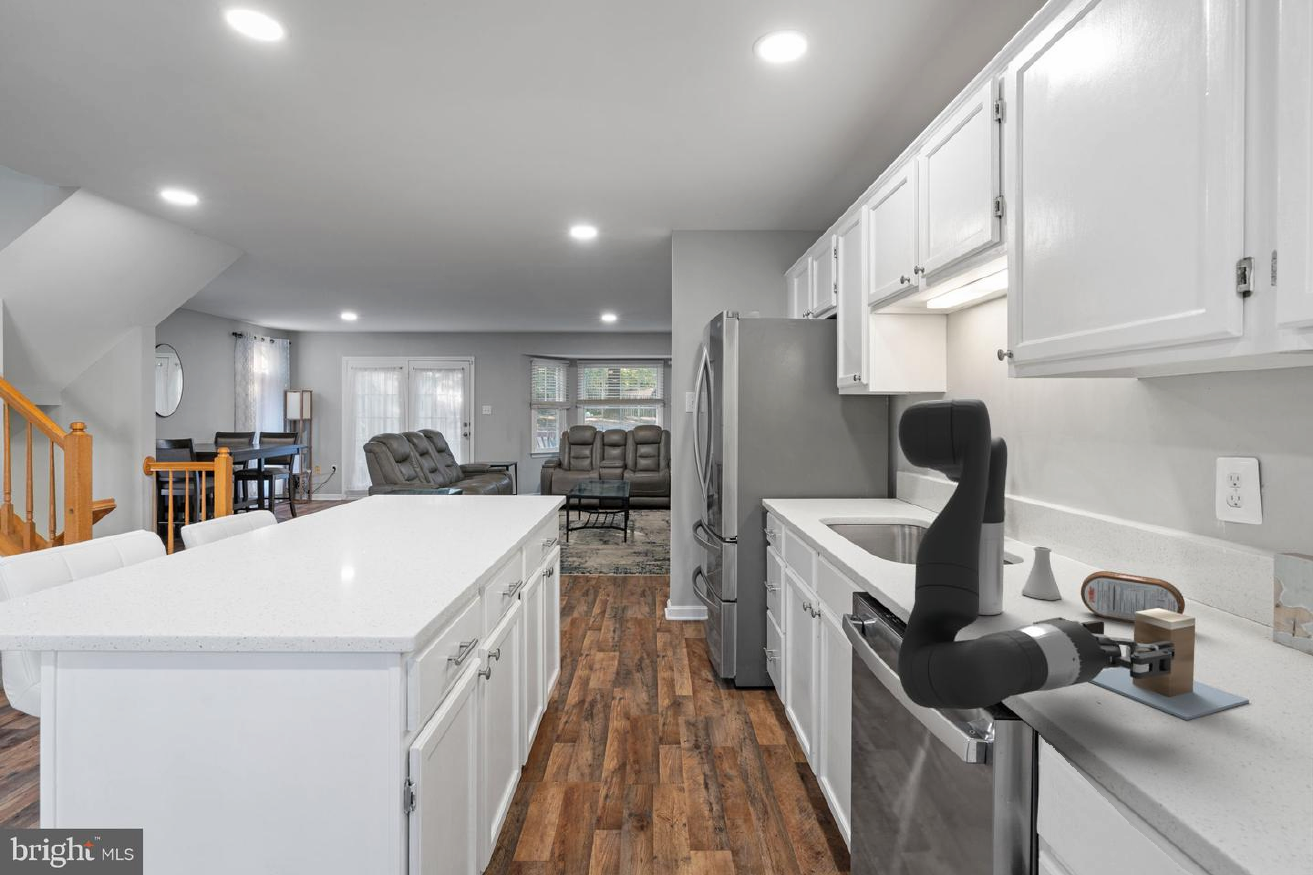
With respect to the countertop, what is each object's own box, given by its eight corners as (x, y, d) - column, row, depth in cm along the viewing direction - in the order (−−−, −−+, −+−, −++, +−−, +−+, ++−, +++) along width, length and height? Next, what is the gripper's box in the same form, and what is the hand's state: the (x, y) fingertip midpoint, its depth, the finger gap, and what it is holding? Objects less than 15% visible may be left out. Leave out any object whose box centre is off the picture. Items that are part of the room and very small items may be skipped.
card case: (1132, 683, 87) (1134, 612, 87) (1156, 678, 89) (1158, 607, 88) (1168, 697, 83) (1171, 622, 82) (1192, 691, 85) (1195, 617, 84)
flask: (1066, 595, 130) (1067, 547, 130) (1056, 603, 125) (1057, 553, 124) (1027, 588, 135) (1028, 542, 135) (1016, 595, 130) (1017, 547, 130)
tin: (1184, 628, 110) (1185, 581, 110) (1183, 633, 108) (1184, 584, 108) (1081, 610, 120) (1082, 567, 120) (1078, 614, 118) (1079, 570, 118)
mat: (1081, 678, 90) (1081, 675, 90) (1141, 665, 94) (1141, 662, 94) (1186, 720, 77) (1186, 716, 77) (1249, 702, 82) (1249, 699, 82)
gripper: (1108, 644, 71) (1198, 627, 76) (997, 608, 84) (1081, 595, 90) (1106, 710, 71) (1196, 688, 77) (996, 663, 84) (1080, 647, 90)
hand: (1134, 638), depth 83 cm, fingers open, 8 cm apart
